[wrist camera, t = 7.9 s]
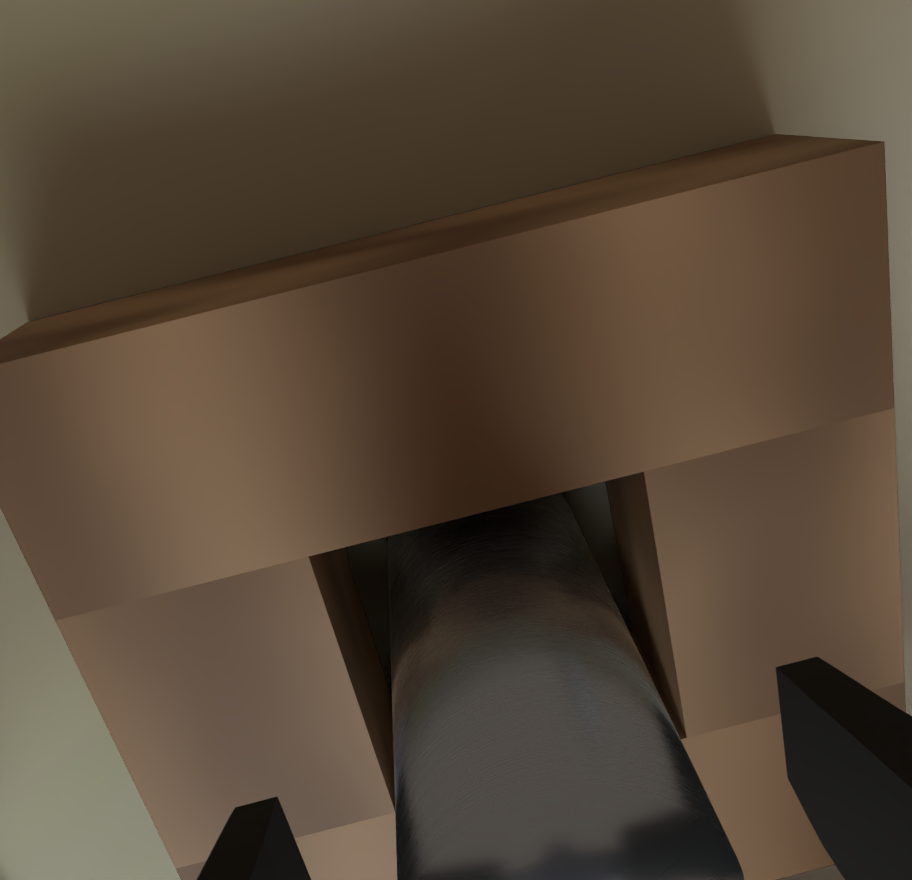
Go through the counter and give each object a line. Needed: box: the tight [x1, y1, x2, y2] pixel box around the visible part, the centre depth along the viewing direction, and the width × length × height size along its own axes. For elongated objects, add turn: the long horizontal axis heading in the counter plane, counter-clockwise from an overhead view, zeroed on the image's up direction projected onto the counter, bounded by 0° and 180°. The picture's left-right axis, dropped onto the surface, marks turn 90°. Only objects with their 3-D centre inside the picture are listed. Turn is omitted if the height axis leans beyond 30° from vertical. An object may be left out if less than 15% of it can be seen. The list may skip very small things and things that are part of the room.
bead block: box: [0, 134, 906, 880], centre depth 17 cm, size 14×14×4 cm
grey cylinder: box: [387, 493, 744, 880], centre depth 14 cm, size 4×4×9 cm
